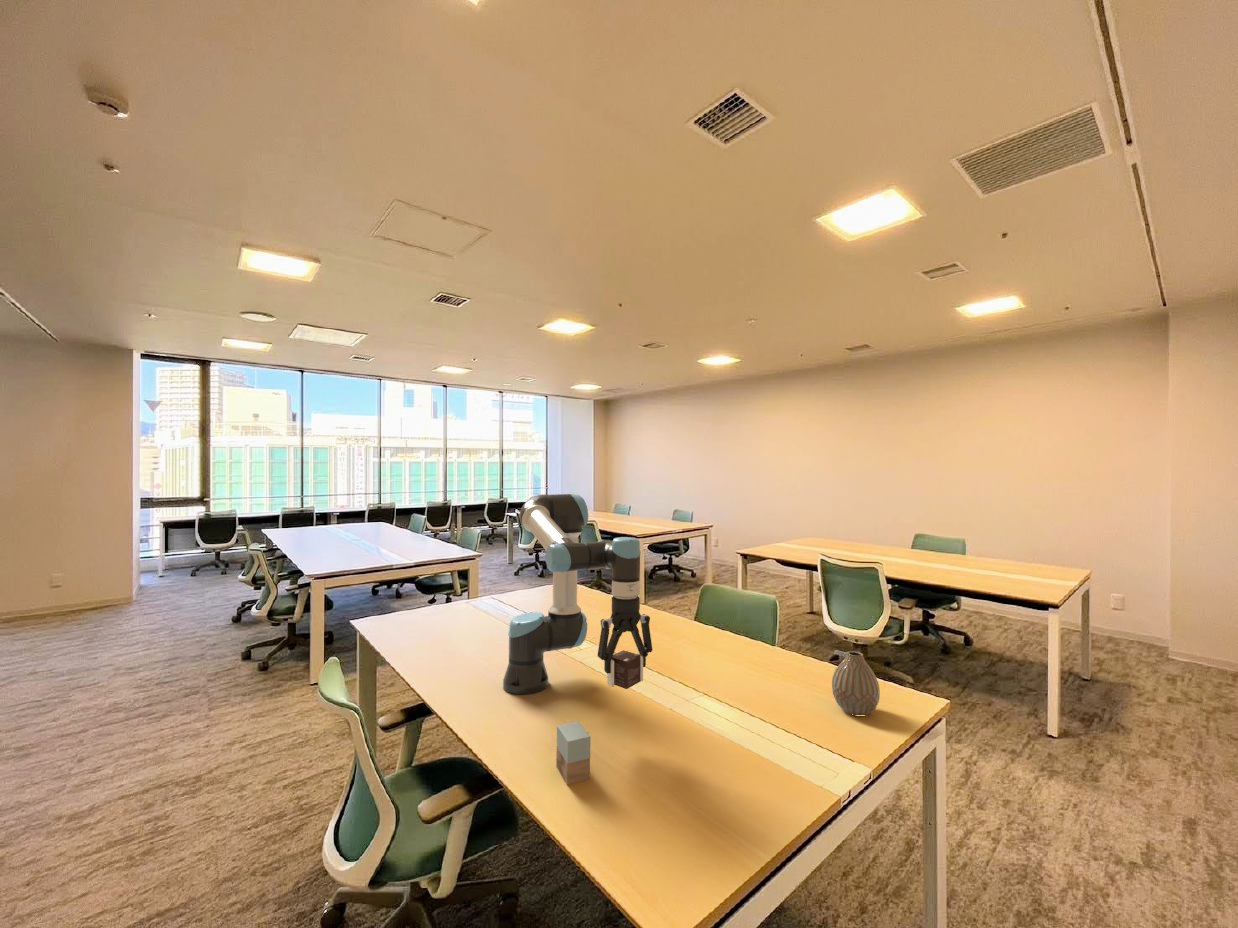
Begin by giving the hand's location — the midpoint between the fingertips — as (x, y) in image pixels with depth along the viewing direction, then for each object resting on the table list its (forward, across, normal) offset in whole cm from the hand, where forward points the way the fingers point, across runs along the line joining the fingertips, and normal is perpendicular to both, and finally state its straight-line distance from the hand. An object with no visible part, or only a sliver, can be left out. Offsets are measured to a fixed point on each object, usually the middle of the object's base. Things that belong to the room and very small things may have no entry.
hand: (625, 681), depth 132 cm
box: (+1, 0, 0) cm, 1 cm away
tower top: (+11, -17, -7) cm, 21 cm away
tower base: (+16, -17, -7) cm, 24 cm away
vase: (+16, +72, -12) cm, 75 cm away
